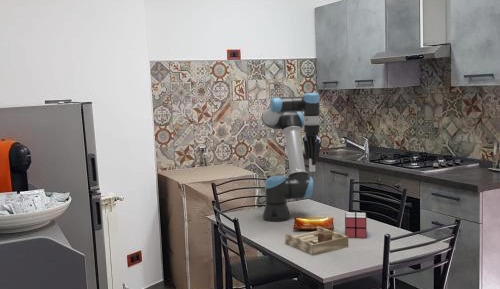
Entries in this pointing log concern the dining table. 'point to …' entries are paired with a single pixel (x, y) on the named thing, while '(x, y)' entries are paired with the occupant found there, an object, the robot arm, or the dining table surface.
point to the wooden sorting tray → (310, 241)
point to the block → (324, 236)
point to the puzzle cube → (355, 225)
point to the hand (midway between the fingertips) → (312, 171)
